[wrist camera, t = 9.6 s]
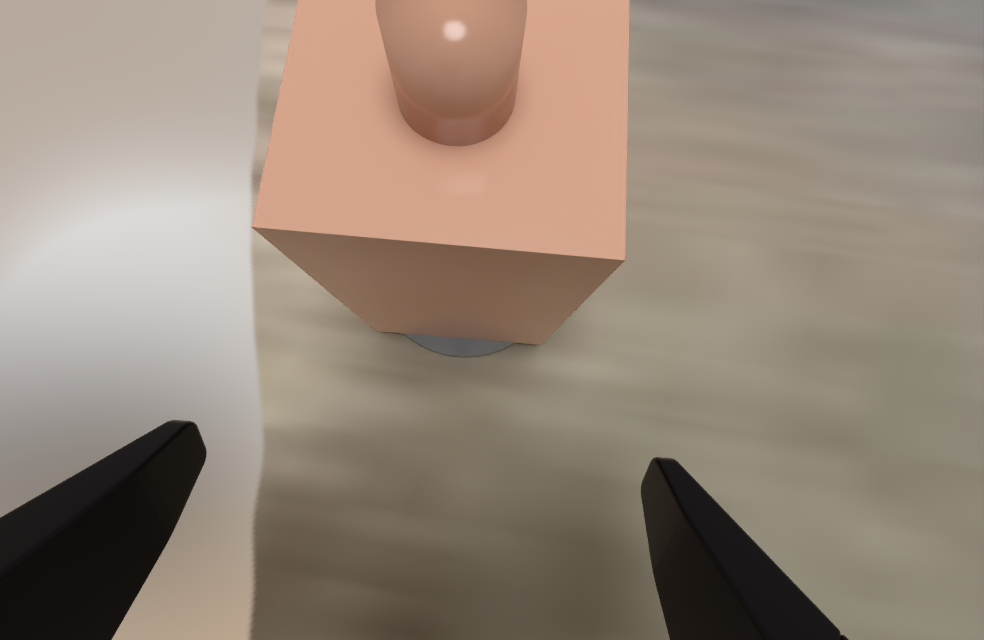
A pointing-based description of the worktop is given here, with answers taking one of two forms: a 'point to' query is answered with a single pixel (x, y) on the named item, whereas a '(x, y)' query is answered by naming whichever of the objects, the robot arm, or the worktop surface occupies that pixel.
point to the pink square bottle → (452, 160)
